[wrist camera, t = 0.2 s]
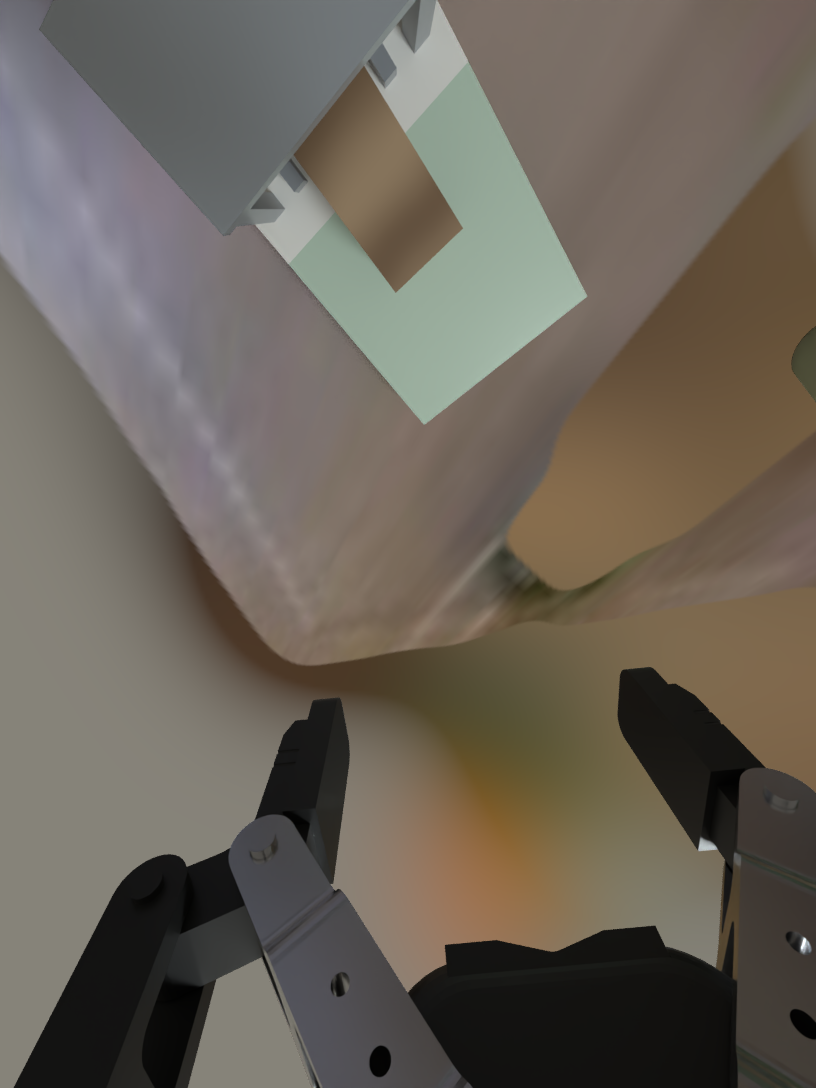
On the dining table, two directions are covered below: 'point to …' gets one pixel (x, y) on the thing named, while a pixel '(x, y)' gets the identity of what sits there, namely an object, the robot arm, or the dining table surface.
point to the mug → (806, 362)
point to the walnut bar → (378, 182)
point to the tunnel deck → (290, 194)
